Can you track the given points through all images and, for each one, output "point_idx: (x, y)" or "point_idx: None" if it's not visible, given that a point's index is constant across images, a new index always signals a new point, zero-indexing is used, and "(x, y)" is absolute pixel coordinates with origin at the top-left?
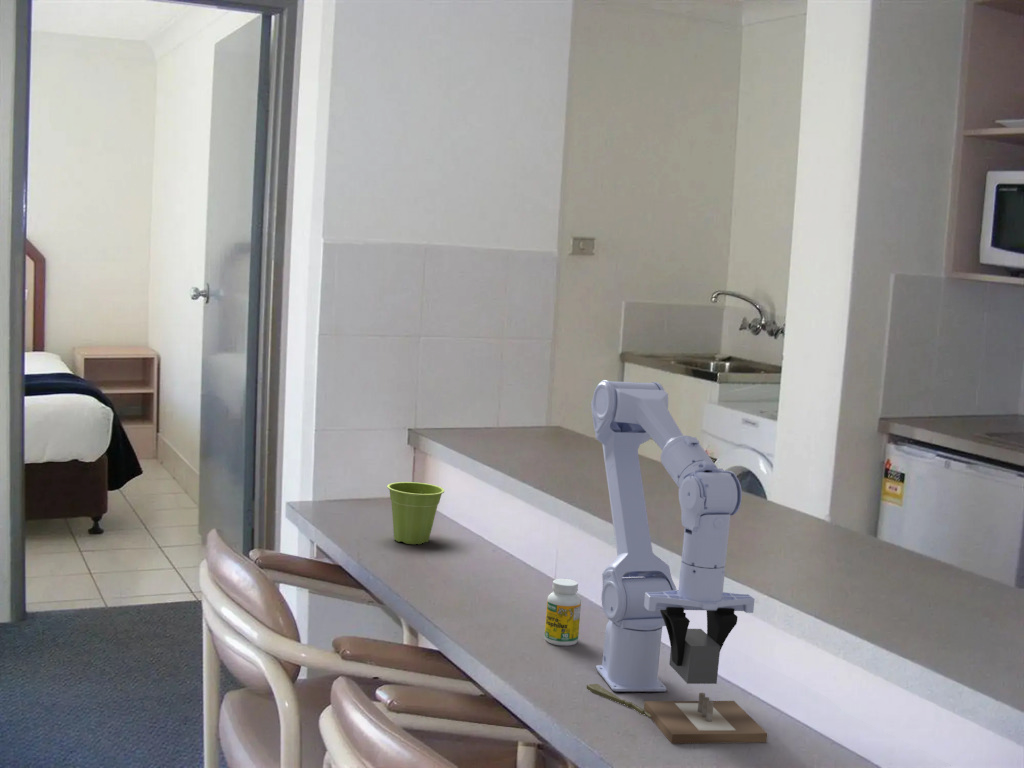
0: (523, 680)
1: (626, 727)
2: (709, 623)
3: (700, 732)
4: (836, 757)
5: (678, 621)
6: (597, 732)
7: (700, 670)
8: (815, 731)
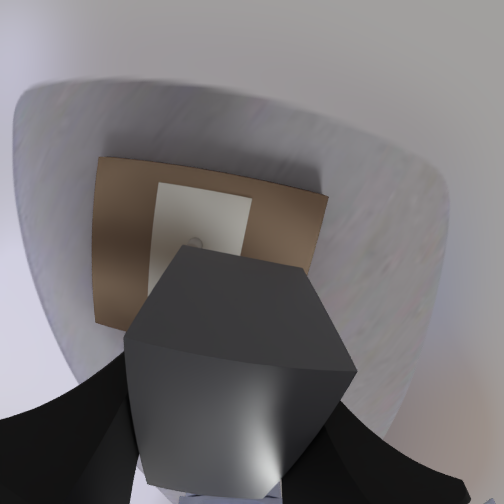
0: (373, 426)
1: (359, 285)
2: (124, 500)
3: (254, 189)
4: (41, 90)
5: (453, 496)
6: (413, 275)
7: (257, 282)
8: (17, 196)
